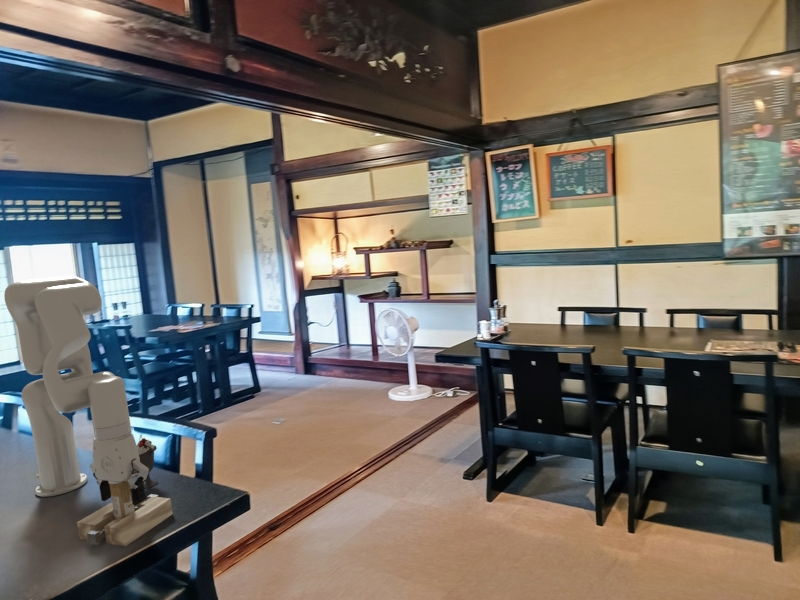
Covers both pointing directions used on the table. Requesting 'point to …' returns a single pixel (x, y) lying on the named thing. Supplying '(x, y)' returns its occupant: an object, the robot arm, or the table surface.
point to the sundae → (147, 458)
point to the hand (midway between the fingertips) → (123, 500)
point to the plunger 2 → (148, 498)
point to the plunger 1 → (95, 536)
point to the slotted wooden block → (126, 521)
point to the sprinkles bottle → (121, 499)
